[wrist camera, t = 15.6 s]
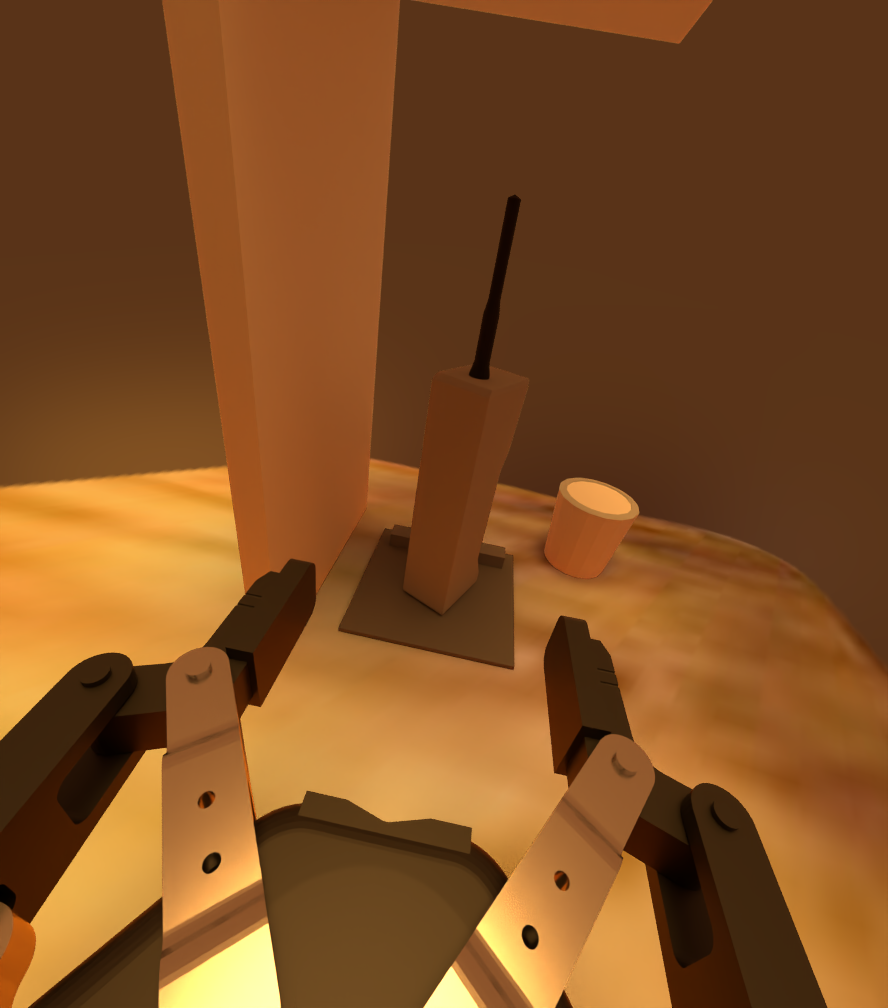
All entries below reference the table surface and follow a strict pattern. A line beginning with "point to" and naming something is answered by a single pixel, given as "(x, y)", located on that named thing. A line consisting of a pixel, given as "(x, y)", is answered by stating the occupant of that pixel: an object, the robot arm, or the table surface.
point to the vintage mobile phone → (463, 457)
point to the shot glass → (587, 526)
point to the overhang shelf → (322, 277)
